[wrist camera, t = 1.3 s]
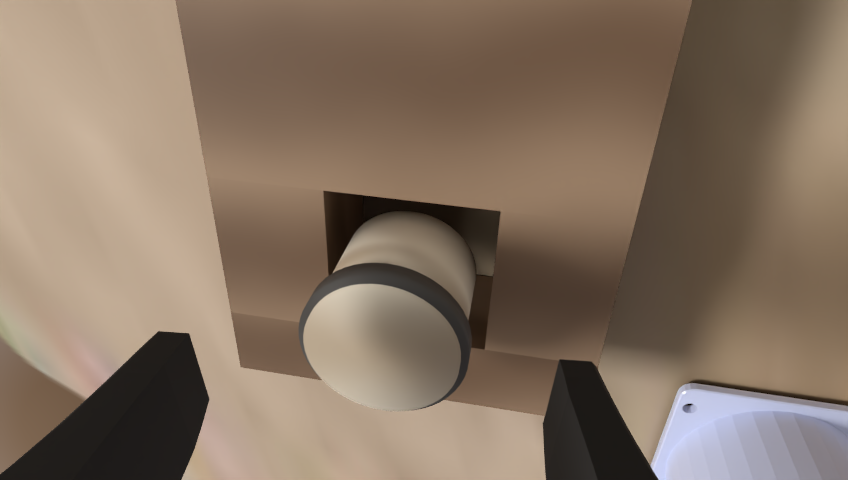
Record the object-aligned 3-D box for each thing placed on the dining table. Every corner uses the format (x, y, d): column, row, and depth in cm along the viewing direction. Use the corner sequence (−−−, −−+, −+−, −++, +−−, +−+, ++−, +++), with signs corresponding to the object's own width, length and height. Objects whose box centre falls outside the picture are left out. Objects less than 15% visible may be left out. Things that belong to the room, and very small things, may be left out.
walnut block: (578, 341, 23) (583, 422, 20) (283, 299, 25) (240, 367, 21) (779, -537, 11) (875, -711, 8) (189, -508, 13) (61, -642, 9)
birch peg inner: (476, 334, 19) (461, 428, 16) (343, 315, 19) (302, 401, 16) (489, 214, 16) (475, 295, 13) (337, 196, 17) (288, 270, 14)
